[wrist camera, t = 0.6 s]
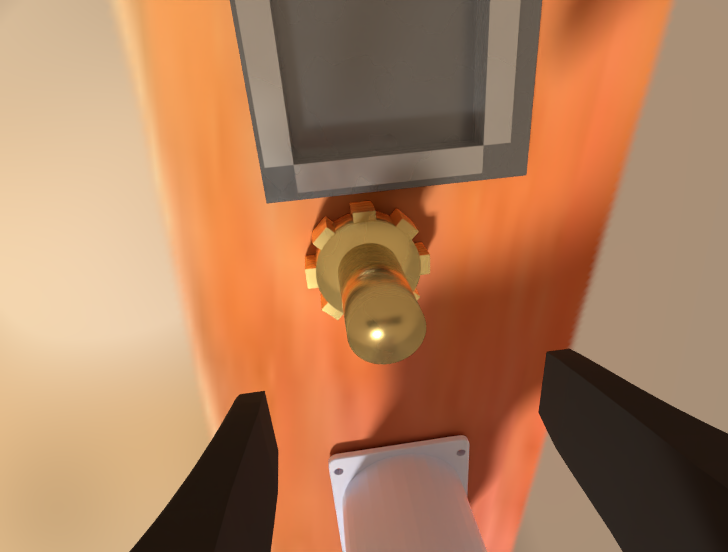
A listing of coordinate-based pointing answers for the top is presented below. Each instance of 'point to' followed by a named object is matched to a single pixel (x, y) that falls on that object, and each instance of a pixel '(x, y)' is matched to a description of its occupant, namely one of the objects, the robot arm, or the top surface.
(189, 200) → the top surface
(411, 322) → the planet gear
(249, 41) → the carrier
